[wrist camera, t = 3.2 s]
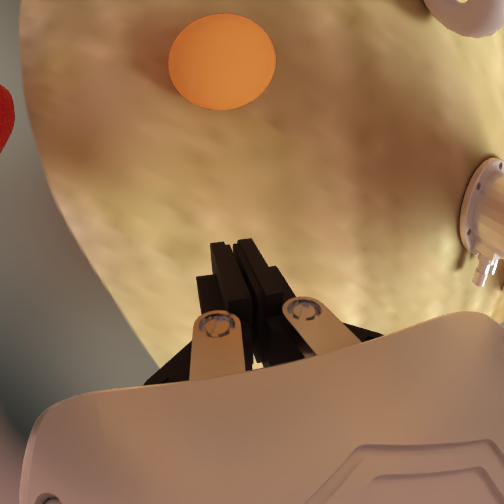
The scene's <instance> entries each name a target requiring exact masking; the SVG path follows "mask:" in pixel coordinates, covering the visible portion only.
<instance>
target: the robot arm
mask: <svg viewBox="0 0 504 504" xmlns="http://www.w3.org/2000/svg"><path fill="white" fill-rule="evenodd" d="M460 236H461V240H462V243H463V245H464V247H465V248H466V249H467V250H468V251H470V252H471V253H473V254H475V255H478V260H479V264H478V267H477V268H476V271H475V274H474V277H473V280H472V282H473V283H474V284H475V285H477V286H480V287H482V286H484V284H485V282H486V279H487V276H488V273H490V274H494V273H495V270H496V267H497V263H498V260H499V259H503V260H504V161H503V160H501V159H498V158H489V159H487V160H485V161H484V162H483V163H482V164H481V165H480V166H479V167H478V168H477V170H476V171H475V173H474V175H473V176H472V178H471V180H470V182H469V185H468V187H467V190H466V193H465V196H464V199H463V203H462V207H461V214H460ZM210 249H211V260H212V271H213V275H205V276H198V277H196V280H197V288H198V295H199V302H200V308H201V314H202V315H201V316H199V317H198V318H197V319H196V321H195V323H194V326H193V337H192V341H191V342H190V343H189V344H187V345H186V346H185V347H184V348H183V349H182V350H181V351H180V352H179V353H177V354H176V355H175V356H174V357H173V358H172V359H171V360H170V361H168V362H167V363H166V364H165V365H164V366H163V367H162V368H161V369H159V370H158V371H157V372H156V373H155V374H154V375H153V376H151V377H150V378H149V379H148V380H147V381H146V382H145V383H144V385H143V386H138V387H128V388H118V389H108V390H102V391H95V392H90V393H86V394H82V395H77V396H74V397H72V398H69V399H66V400H63V401H61V402H59V403H56V404H55V405H53V406H51V407H49V408H48V409H46V410H45V411H44V412H43V413H42V414H41V415H40V417H39V418H38V419H37V421H36V423H35V424H34V427H33V429H32V431H31V434H30V437H29V440H28V443H27V447H26V451H25V456H24V462H23V467H22V475H21V483H20V497H19V499H20V500H19V504H504V328H503V327H502V326H501V325H499V324H498V323H497V322H496V321H494V320H493V319H492V318H490V317H489V316H487V315H485V314H483V313H479V312H456V313H450V314H446V315H442V316H439V317H436V318H433V319H430V320H427V321H424V322H421V323H419V324H416V325H413V326H410V327H408V328H405V329H402V330H399V331H396V332H393V333H390V334H387V335H382V334H380V333H377V332H373V331H370V330H366V329H363V328H359V327H356V326H353V325H349V324H346V323H342V322H341V321H340V320H339V319H338V318H337V317H336V316H335V315H334V314H333V313H332V312H331V311H330V310H329V309H328V308H327V307H326V306H325V305H324V304H323V303H321V302H320V301H319V300H316V299H314V298H310V297H296V296H295V294H294V293H293V291H292V290H291V288H290V287H289V285H288V283H287V282H286V280H285V279H284V277H283V276H282V274H281V272H280V271H279V269H278V268H277V267H276V266H271V267H268V265H267V263H266V262H265V260H264V258H263V257H262V255H261V253H260V252H259V250H258V248H257V247H256V245H255V243H254V242H253V240H252V239H251V238H250V239H241V240H238V241H237V244H233V252H232V249H231V247H230V245H225V243H224V242H217V243H210ZM253 353H254V356H255V359H256V362H257V363H261V362H262V364H263V367H264V368H260V369H255V370H252V364H253Z"/></svg>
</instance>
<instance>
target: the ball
mask: <svg viewBox="0 0 504 504" xmlns="http://www.w3.org/2000/svg"><path fill="white" fill-rule="evenodd" d="M275 64H276V57H275V51H274V47H273V44H272V42H271V40H270V38H269V36H268V35H267V34H266V32H265V31H264V30H263V29H262V28H261V27H260V26H259V25H257V24H256V23H255V22H253V21H251V20H250V19H247V18H245V17H242V16H239V15H234V14H224V13H223V14H214V15H209V16H205V17H202V18H200V19H198V20H196V21H194V22H192V23H191V24H189V25H188V26H187V27H185V28H184V29H183V30H182V31H181V32H180V34H179V35H178V36H177V38H176V39H175V41H174V43H173V44H172V47H171V50H170V53H169V60H168V68H169V74H170V78H171V80H172V82H173V84H174V86H175V88H176V89H177V90H178V92H179V93H180V94H181V95H182V96H183V97H184V98H185V99H187V100H188V101H190V102H191V103H193V104H195V105H197V106H200V107H202V108H206V109H211V110H229V109H234V108H238V107H241V106H243V105H245V104H247V103H249V102H251V101H253V100H254V99H256V98H257V97H258V96H259V95H260V94H261V93H262V92H263V91H264V90H265V89H266V87H267V86H268V85H269V83H270V81H271V79H272V77H273V74H274V70H275Z"/></svg>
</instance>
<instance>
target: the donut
mask: <svg viewBox="0 0 504 504" xmlns="http://www.w3.org/2000/svg"><path fill="white" fill-rule="evenodd" d="M423 1H424V3H425V5H426V7H427V8H428V9H429V11H430V12H431V13H432V15H433V16H434V17H435V18H436V19H437V20H438V21H439V22H440V23H441V24H443V25H444V26H445V27H446V28H447V29H450V30H452V31H454V32H456V33H458V34H460V35H462V36H466V37H473V38H481V37H485V36H490V35H492V34H493V33H495V32H496V31H497V30H499V29H500V28H501V27H502V26H503V24H504V0H468V1H467V2H465V3H460V2H458V1H457V0H423Z"/></svg>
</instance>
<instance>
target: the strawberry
mask: <svg viewBox="0 0 504 504" xmlns="http://www.w3.org/2000/svg"><path fill="white" fill-rule="evenodd" d="M14 120H15V113H14V105H13V100H12V96H11V95H10V93H9V91H8V90H7V89H5V88H4V87H3V86H1V85H0V153H1V151H2V149H3V147H4V146H5V144H6V142H7V140H8V138H9V136H10V134H11V132H12V129H13V126H14Z"/></svg>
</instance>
